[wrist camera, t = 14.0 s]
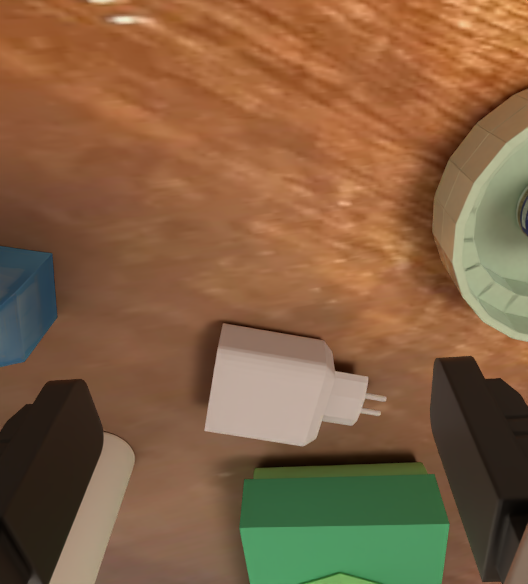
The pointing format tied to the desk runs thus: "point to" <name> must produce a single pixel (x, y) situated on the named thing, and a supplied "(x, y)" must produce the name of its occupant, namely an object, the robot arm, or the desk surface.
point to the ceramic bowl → (488, 218)
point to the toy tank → (344, 525)
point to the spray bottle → (96, 514)
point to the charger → (280, 387)
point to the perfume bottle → (24, 302)
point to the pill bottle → (523, 211)
